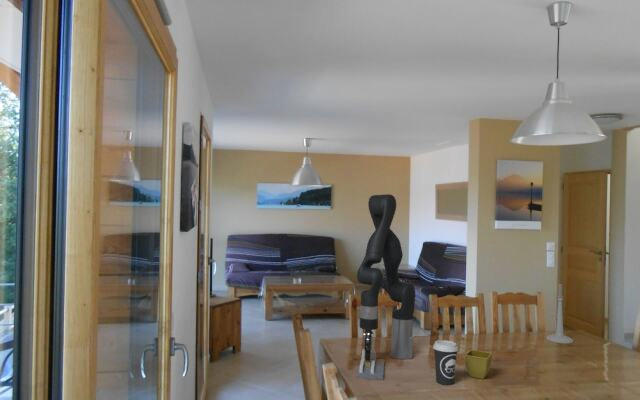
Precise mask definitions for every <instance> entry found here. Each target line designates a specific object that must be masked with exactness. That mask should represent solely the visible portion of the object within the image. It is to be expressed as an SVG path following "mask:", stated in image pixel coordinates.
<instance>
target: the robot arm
mask: <svg viewBox="0 0 640 400" xmlns="http://www.w3.org/2000/svg"><path fill="white" fill-rule="evenodd" d="M368 210H369V211H368V212H369V214H370V217H371V219H372V220H371V221H372V224H373V226H374V228H375V230H374V232H373V233H372V234H371V236H370V237H369V239H368V240H367V241H368V242H367V245H366V249H365V255H364V257H363V260H362V261H361V264H360V266H359V267H358V269H357V272H356V279H357V281H358V283H359V284H361V285H367V286H368V285H369V286H371V287H370V288H369V289H367V290H366V289H365V290H363V291H362V292H361V293H360V309H359V328H360V329H362V330H364V332H363V335H362V337H363V346H365V348H363V349H364V350H365V360H367V361H370V358H371V346H372V347H373V342H374V339H373V338H374V332H373V331H375V330H378V329H379V294H380V290H381V286H382V284H383V280H384V279H383V278H384V274H383V272H382V270H381V269H380V268H376V267H372V266H373V265H376V264H380V263H381V262H382V261H383V267H384V271H385V276H386V284H387V292H388V296H389V298H390V300H392V302H396V303H400V305H401V306H400V308H398V309H394V310H393V311H392V313H391V314H392V315H391V347H390V348H391V349H390V354H391V355H390V356H391V357H392V358H394V359H398V360H408V359H409V360H410V359H413V339H414V338H413V328H414V327H413V323H414V321H413V319H414V313H415V304H416V303H415V302H416V289H415V286H414V285H413V283H411V282H404V281H400V280H401V279H400V278H399V267H400V265H401V263H402V260H403V255H404V254H403V248H402V244H401V241H400V239H399V238H398V236H397V235H396V234H395V232H394V231H393V230H392V229H391V225H392V223H393V219H394V217H395V214H396V210H397V200H396V197H395V196H394V195H392V194H386V193H385V194H373V195H371V196H370V197H369V198H368ZM372 330H373V331H372ZM366 346H369V347H370V348H366Z"/></svg>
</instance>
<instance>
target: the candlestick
mask: <svg viewBox="0 0 640 400" xmlns="http://www.w3.org/2000/svg"><path fill="white" fill-rule="evenodd" d="M557 286H558V287H557V295H556V298H557V301H558V302H557V313H556V327H555V328H556V329H555V334H554V333H553V334H549V335H547V336H546V337H545V338H546V340H547V341H549V342H553V343H557V344H558V343H559V344H573V343H574V340H573V338H571V337H570V336H567V335H565V334H564V315H563V300H564V296H563V283H558V284H557Z"/></svg>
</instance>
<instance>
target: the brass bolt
mask: <svg viewBox="0 0 640 400" xmlns="http://www.w3.org/2000/svg"><path fill="white" fill-rule="evenodd" d="M363 346H364V348H365V345H363ZM364 348H363V349H364ZM366 348H370V347H369V346H366ZM372 350H373V345H372V346H371V358H370V361H367V360H365V350H364V362H365V367H369V368H370V367H371V362H372Z"/></svg>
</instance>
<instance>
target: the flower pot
mask: <svg viewBox="0 0 640 400" xmlns="http://www.w3.org/2000/svg"><path fill="white" fill-rule="evenodd" d="M464 356H465V358H464V360H465V365H466V366H465V367H466V370H467V372H468V374H469V376H470V377H472V378H476V379H480V380H483V379H485V378H486V377H487V375H488V373H490V372H489V371H490V369H491V366H492V365H491V364H492V359H493V353H492V352H486V351H481V350H475V349H470V350H469V351H468V352H467V353H466V354H465V355H464Z"/></svg>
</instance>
